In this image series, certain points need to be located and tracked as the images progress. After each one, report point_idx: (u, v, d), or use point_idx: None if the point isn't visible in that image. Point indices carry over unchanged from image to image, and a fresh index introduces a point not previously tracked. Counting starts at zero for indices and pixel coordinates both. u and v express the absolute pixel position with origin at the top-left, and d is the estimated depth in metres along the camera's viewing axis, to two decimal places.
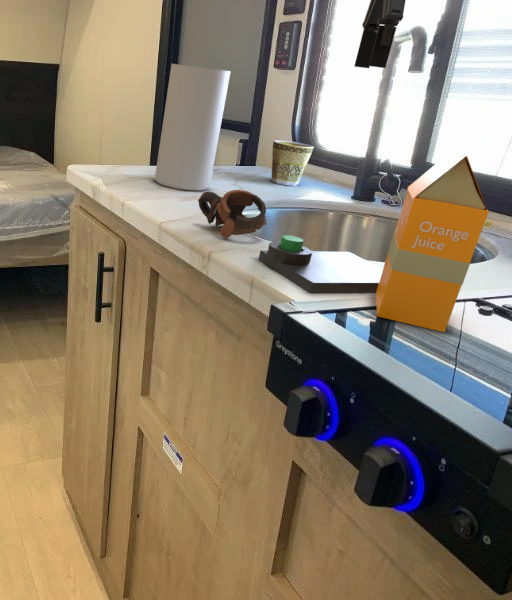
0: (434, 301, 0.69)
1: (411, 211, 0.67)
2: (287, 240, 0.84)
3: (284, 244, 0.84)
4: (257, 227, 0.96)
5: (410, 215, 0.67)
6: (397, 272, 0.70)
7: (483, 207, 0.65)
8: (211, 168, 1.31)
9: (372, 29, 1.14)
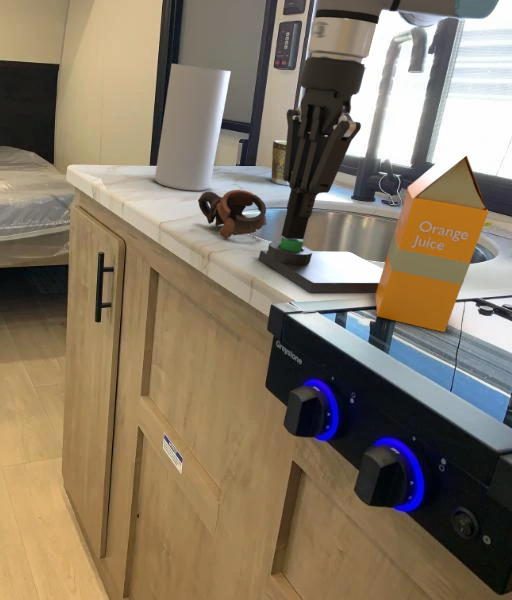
0: (434, 301, 0.69)
1: (411, 211, 0.67)
2: (287, 241, 0.84)
3: (283, 244, 0.84)
4: (257, 227, 0.96)
5: (410, 215, 0.67)
6: (397, 272, 0.70)
7: (483, 207, 0.65)
8: (211, 168, 1.31)
9: None
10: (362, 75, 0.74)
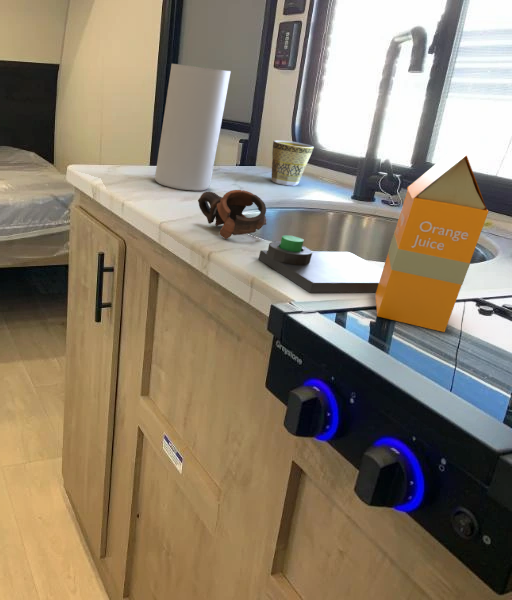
0: (434, 301, 0.69)
1: (411, 211, 0.67)
2: (287, 240, 0.84)
3: (284, 244, 0.84)
4: (257, 227, 0.96)
5: (410, 215, 0.67)
6: (397, 272, 0.70)
7: (483, 207, 0.65)
8: (211, 168, 1.31)
9: None
10: None
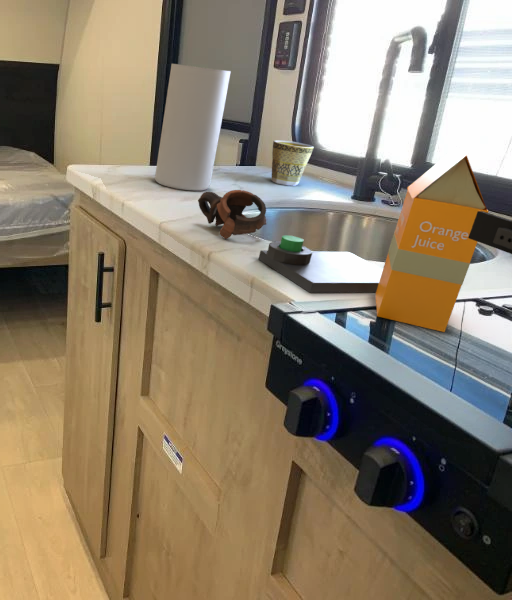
0: (434, 301, 0.69)
1: (411, 211, 0.67)
2: (287, 240, 0.84)
3: (284, 244, 0.84)
4: (257, 227, 0.96)
5: (410, 215, 0.67)
6: (397, 272, 0.70)
7: (483, 207, 0.65)
8: (211, 168, 1.31)
9: None
10: None
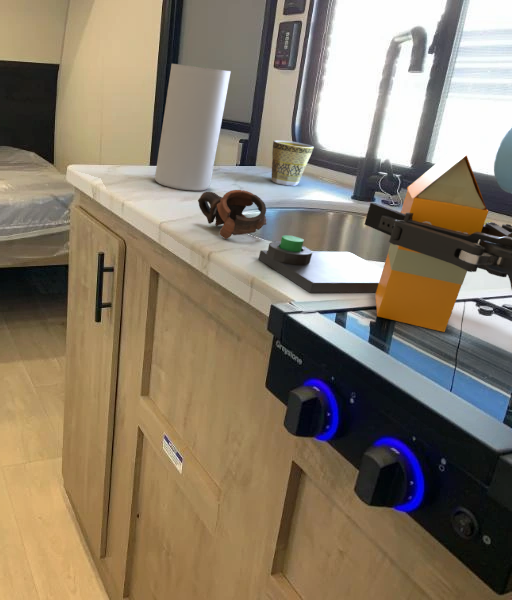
0: (434, 301, 0.69)
1: (411, 211, 0.67)
2: (287, 240, 0.84)
3: (284, 244, 0.84)
4: (257, 227, 0.96)
5: None
6: (397, 272, 0.70)
7: (483, 207, 0.65)
8: (211, 168, 1.31)
9: None
10: None
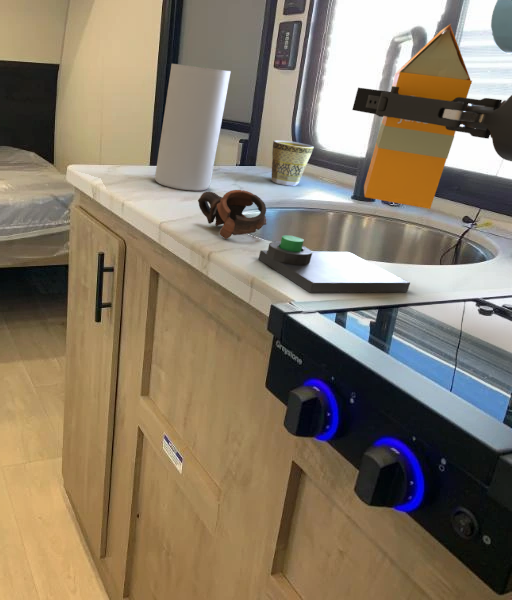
0: (420, 177, 0.71)
1: (397, 86, 0.69)
2: (287, 240, 0.84)
3: (284, 244, 0.84)
4: (257, 227, 0.96)
5: None
6: (384, 150, 0.71)
7: (466, 77, 0.66)
8: (211, 168, 1.31)
9: None
10: None
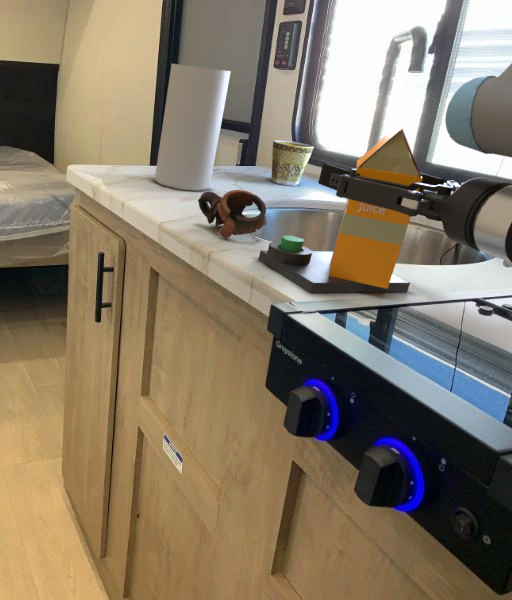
0: (378, 260, 0.77)
1: None
2: (287, 240, 0.84)
3: (284, 244, 0.84)
4: (257, 227, 0.96)
5: None
6: (345, 235, 0.78)
7: (418, 174, 0.73)
8: (211, 168, 1.31)
9: None
10: None
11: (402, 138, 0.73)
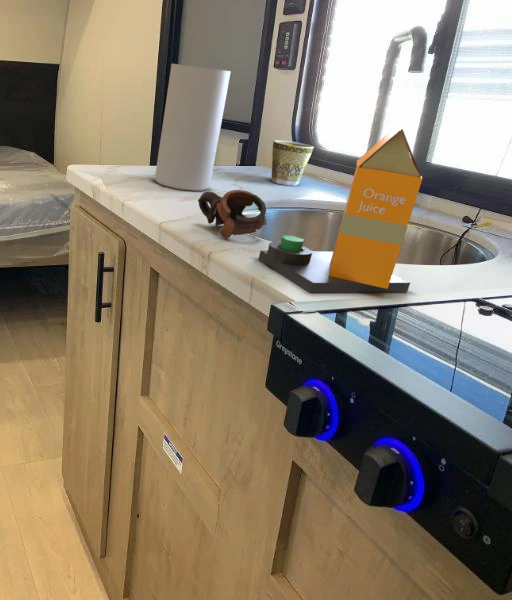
0: (377, 260, 0.77)
1: (356, 179, 0.75)
2: (287, 240, 0.84)
3: (284, 244, 0.84)
4: (257, 227, 0.96)
5: (355, 183, 0.75)
6: (345, 235, 0.78)
7: (418, 174, 0.73)
8: (211, 168, 1.31)
9: None
10: None
11: (402, 138, 0.73)
